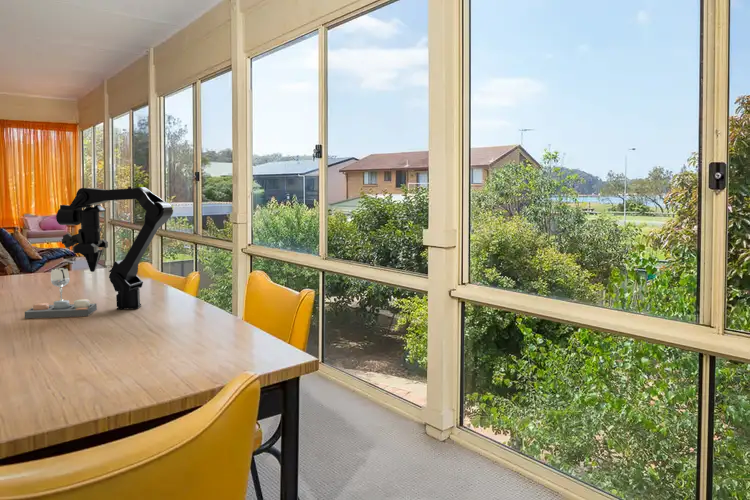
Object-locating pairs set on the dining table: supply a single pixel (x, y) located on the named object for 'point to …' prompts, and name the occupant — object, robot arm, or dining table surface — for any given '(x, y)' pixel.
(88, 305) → the cream button
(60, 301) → the slate button
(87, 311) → the button panel
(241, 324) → the dining table surface
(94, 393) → the dining table surface
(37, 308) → the terracotta button
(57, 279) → the wineglass
